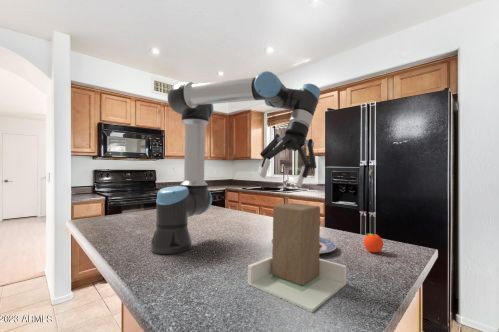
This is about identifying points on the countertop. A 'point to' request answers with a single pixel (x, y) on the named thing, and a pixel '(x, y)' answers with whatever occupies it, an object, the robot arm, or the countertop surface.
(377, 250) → the clementine
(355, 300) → the countertop surface
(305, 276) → the wooden block
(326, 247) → the ceramic plate
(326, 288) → the corner arena
